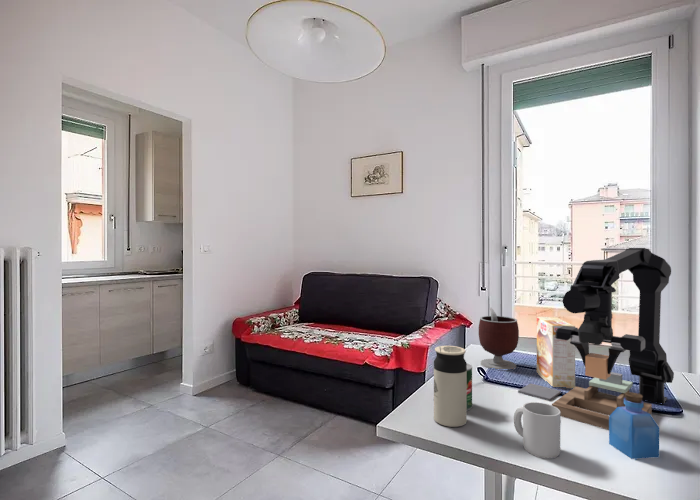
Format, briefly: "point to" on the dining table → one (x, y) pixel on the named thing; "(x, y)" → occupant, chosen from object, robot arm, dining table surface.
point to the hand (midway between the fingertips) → (597, 371)
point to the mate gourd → (498, 339)
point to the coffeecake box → (555, 353)
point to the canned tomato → (469, 386)
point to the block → (596, 366)
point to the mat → (539, 392)
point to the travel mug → (450, 386)
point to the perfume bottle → (634, 429)
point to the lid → (612, 383)
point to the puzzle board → (591, 406)
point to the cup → (539, 429)
